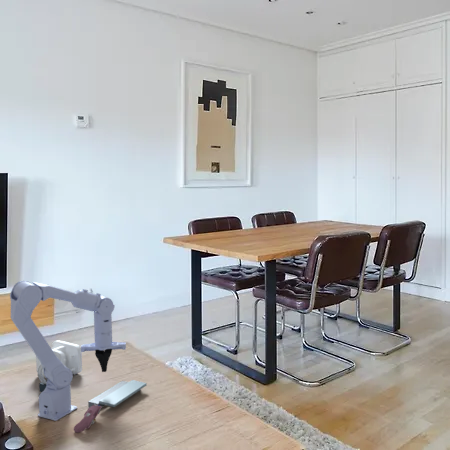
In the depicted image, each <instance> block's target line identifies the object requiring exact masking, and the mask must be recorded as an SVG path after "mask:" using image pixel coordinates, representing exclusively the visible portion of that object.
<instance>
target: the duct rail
mask: <svg viewBox="0 0 450 450" xmlns="http://www.w3.org/2000/svg"><path fill="white" fill-rule="evenodd" d="M128 382H129V381H125V380H122V381H120V382H118V383H116V384H114V385H113V386H111V387H110V388H108V389H106V390H104V391H103V392H102V393H99V395H96V396H95V397H93V398H91V399H90V400H88V401H87V403H88V404H87V405H88V407H87V408H89V407H91V406H93V405H94V404H96V405H100V406H101V409H102V408H103V407H105V406H106V405H104V404H100V403H99V400H101V399H103V398H104V397H106V396H107V395H109V394H111V393H112V392H114V391H115V390H117V389H119V388H120V387H122V386H123V385H125V384H127V383H128ZM140 391H142V389H140V390H139V391H137V392H136V393H138V392H140Z"/></svg>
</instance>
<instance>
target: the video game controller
mask: <svg viewBox="0 0 450 450" xmlns="http://www.w3.org/2000/svg"><path fill="white" fill-rule="evenodd" d="M101 409H102V408H101V406H100V405H96V404H94V405H93V406H91V407H87V410H86V411H85V412H84V415H83V418H82V419H81V420H80V421H79V422H78V423H76V424H75V425H74V426H73V432H74V433H82V432H83V431H85V430H87V429H88V430H89V429H90V427H91V425H94V424H95V422H96V418H97V416H98V415H99V414H100V412H101Z"/></svg>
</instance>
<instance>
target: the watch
mask: <svg viewBox="0 0 450 450" xmlns="http://www.w3.org/2000/svg"><path fill="white" fill-rule="evenodd" d="M42 370H43V367H42V365H40V366H39V368H38V373H37V377H38V380H39V381H40V382H39V385H38V386H39V393H41V392H43V391H44V390H45V388H46V384H47V379H46V378H44V377H43V375H42Z"/></svg>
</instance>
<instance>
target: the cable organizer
mask: <svg viewBox="0 0 450 450" xmlns="http://www.w3.org/2000/svg"><path fill="white" fill-rule="evenodd" d="M51 349H52V350H53V352H54V353H55V355H56V356H57V358H58V359H59V360H60V361H61V362H62V364H63V365H64V366H66V367H67V368H69V369H70V370H71V371H72V374H73V375H77V374H79V373H81V372H82V371H83V357H82V353H83V352H81V346H80V345H79V344H77V343H73V342H68V341H64V340H59V339H57V340H54V341H52V343H51ZM35 363H36V373H37V374H38V368H39V366H40V365H41V362H40V361H39V359H38V358H37V356H36V355H35ZM42 375H43V377H44V379H46V380H47V379H48V378H46V377H45V375H44V370H42Z"/></svg>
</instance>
